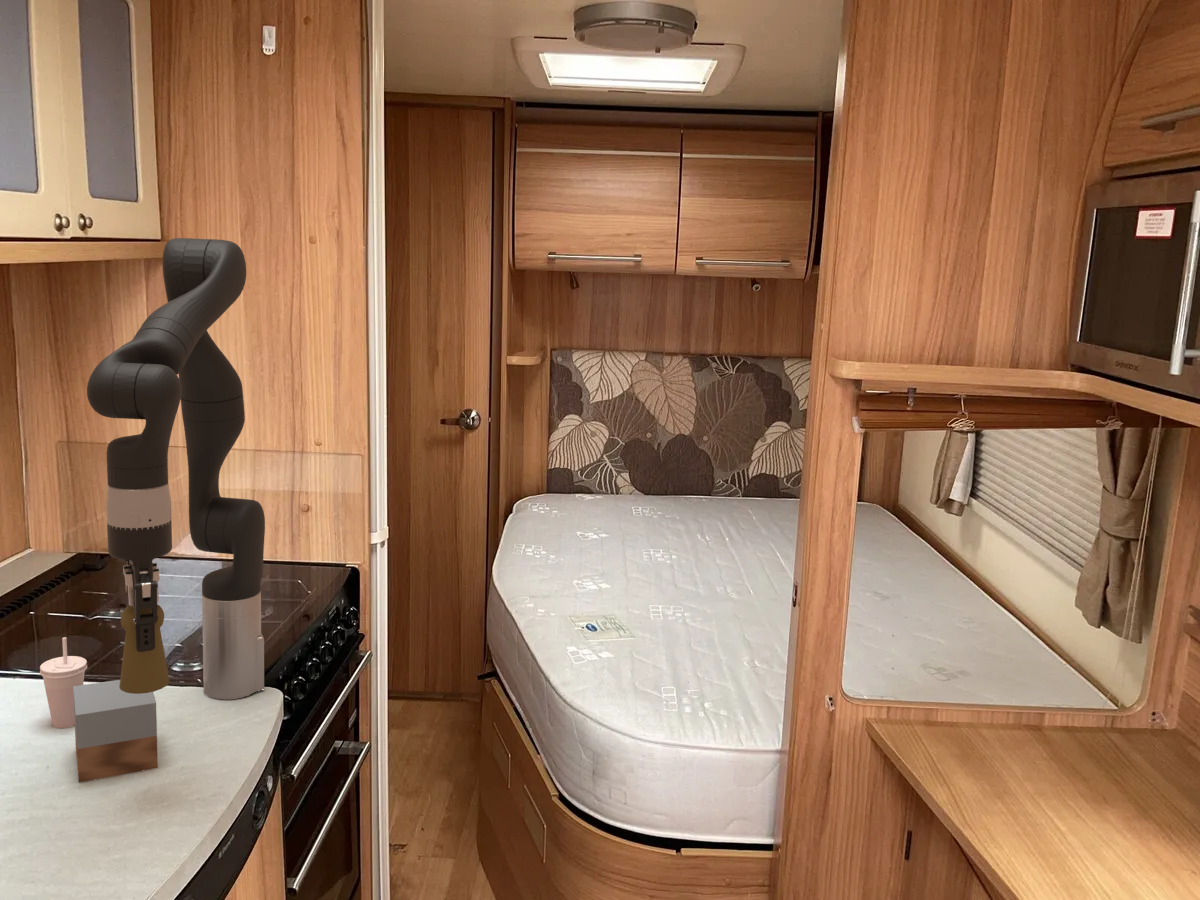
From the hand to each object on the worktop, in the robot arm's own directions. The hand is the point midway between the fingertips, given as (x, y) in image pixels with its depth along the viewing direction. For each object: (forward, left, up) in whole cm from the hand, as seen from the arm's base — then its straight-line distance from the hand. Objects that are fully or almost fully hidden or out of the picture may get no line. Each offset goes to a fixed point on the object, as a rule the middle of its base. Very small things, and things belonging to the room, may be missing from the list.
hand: (143, 641), depth 128 cm
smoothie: (+9, -27, -22) cm, 36 cm away
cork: (0, 0, -6) cm, 6 cm away
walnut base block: (+3, -12, -22) cm, 25 cm away
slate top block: (+3, -12, -17) cm, 21 cm away
